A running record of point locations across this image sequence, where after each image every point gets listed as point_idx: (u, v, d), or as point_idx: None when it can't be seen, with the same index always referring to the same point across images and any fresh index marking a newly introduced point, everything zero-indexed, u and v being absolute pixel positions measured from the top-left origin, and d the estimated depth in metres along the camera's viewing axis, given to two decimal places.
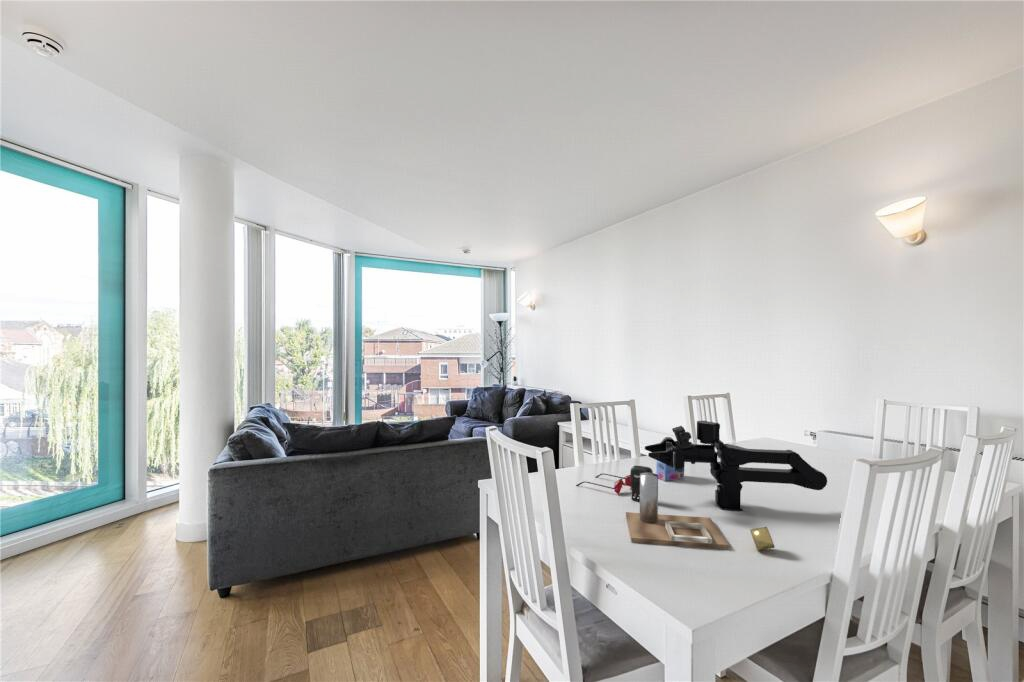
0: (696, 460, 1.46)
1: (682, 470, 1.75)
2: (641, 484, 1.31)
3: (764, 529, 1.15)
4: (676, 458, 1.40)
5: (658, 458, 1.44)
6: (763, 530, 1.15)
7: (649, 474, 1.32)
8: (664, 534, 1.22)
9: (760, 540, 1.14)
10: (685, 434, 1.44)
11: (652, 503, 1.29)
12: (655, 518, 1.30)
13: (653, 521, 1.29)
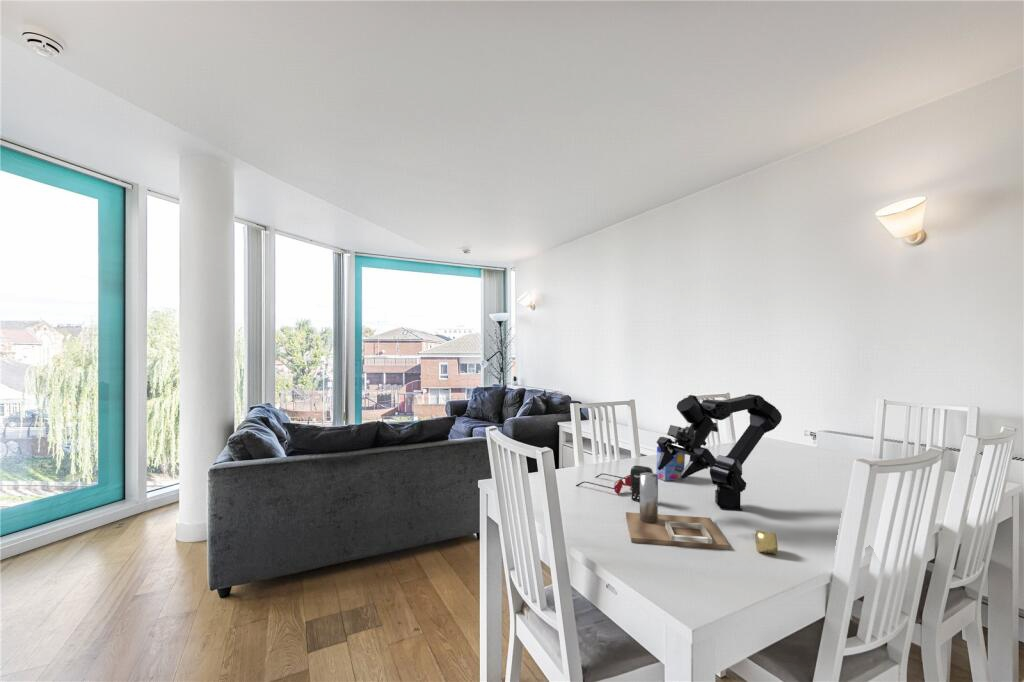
0: (705, 439, 1.38)
1: (682, 470, 1.75)
2: (641, 484, 1.31)
3: (773, 536, 1.14)
4: (708, 460, 1.29)
5: (691, 472, 1.31)
6: (772, 537, 1.13)
7: (649, 474, 1.32)
8: (664, 534, 1.22)
9: (765, 545, 1.13)
10: (689, 432, 1.33)
11: (652, 503, 1.29)
12: (655, 518, 1.30)
13: (653, 521, 1.29)
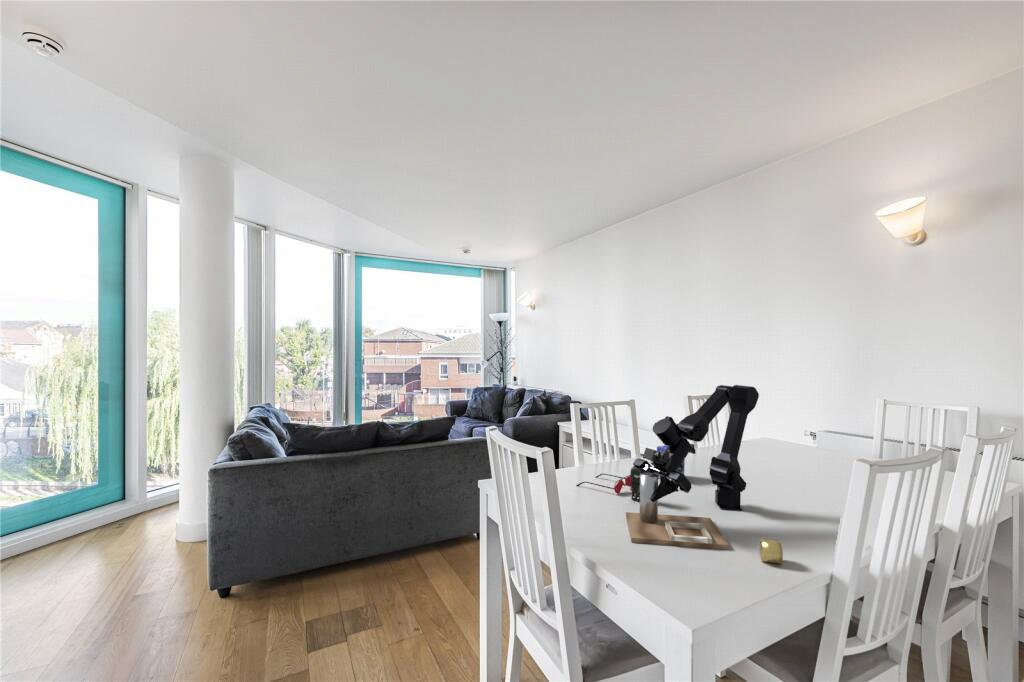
0: None
1: (682, 470, 1.75)
2: (641, 484, 1.31)
3: (778, 563, 1.09)
4: (683, 485, 1.25)
5: (661, 495, 1.29)
6: None
7: (649, 474, 1.32)
8: (664, 534, 1.22)
9: None
10: (664, 455, 1.29)
11: (652, 503, 1.29)
12: (655, 518, 1.30)
13: (653, 521, 1.29)
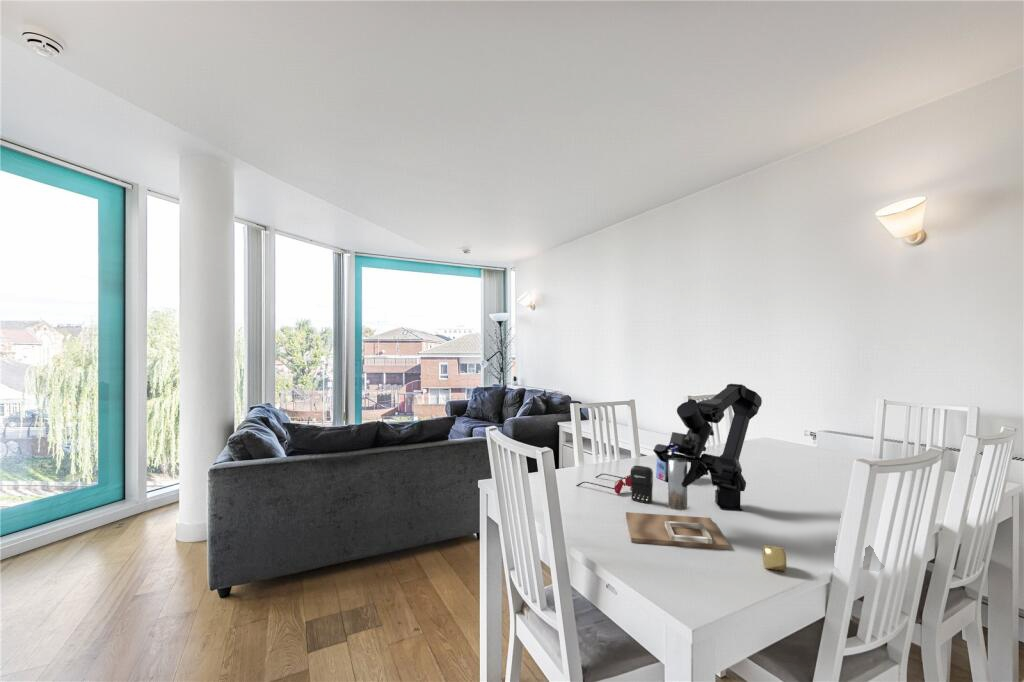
0: (704, 444, 1.32)
1: None
2: (671, 470, 1.27)
3: None
4: (717, 467, 1.23)
5: (692, 480, 1.26)
6: None
7: (678, 459, 1.28)
8: (664, 534, 1.22)
9: None
10: (695, 439, 1.25)
11: (684, 488, 1.25)
12: (686, 503, 1.26)
13: (684, 507, 1.26)
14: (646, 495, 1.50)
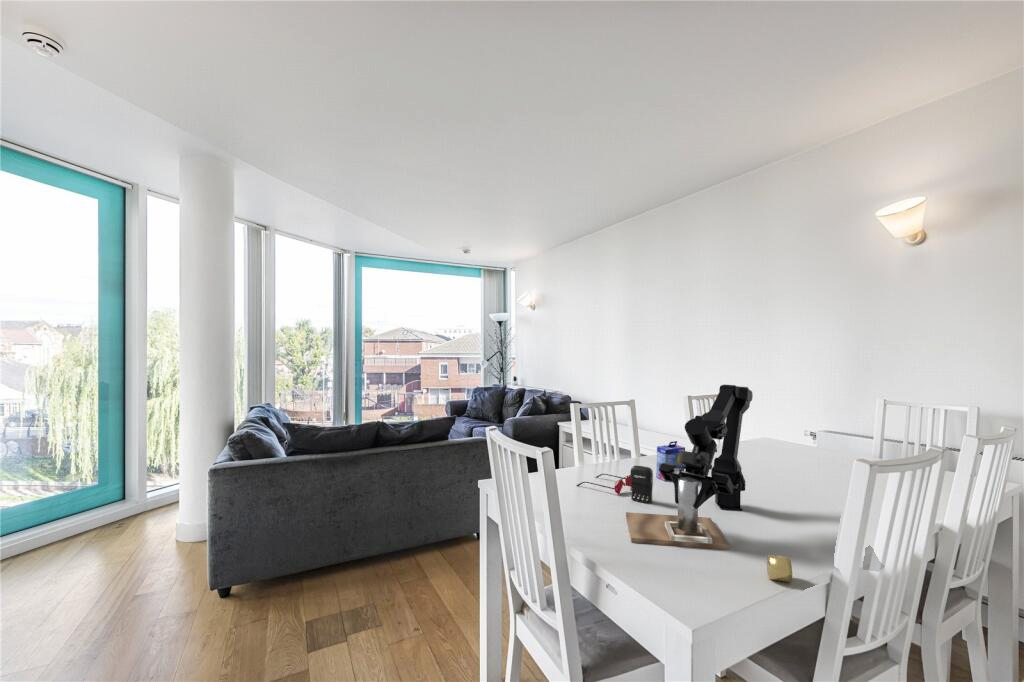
0: None
1: (682, 470, 1.75)
2: (682, 491, 1.21)
3: (785, 557, 1.02)
4: (729, 487, 1.19)
5: (703, 500, 1.21)
6: (784, 557, 1.02)
7: (688, 479, 1.23)
8: (664, 534, 1.22)
9: (778, 564, 1.00)
10: (706, 458, 1.21)
11: (695, 509, 1.20)
12: (697, 525, 1.21)
13: (696, 529, 1.21)
14: (646, 495, 1.50)
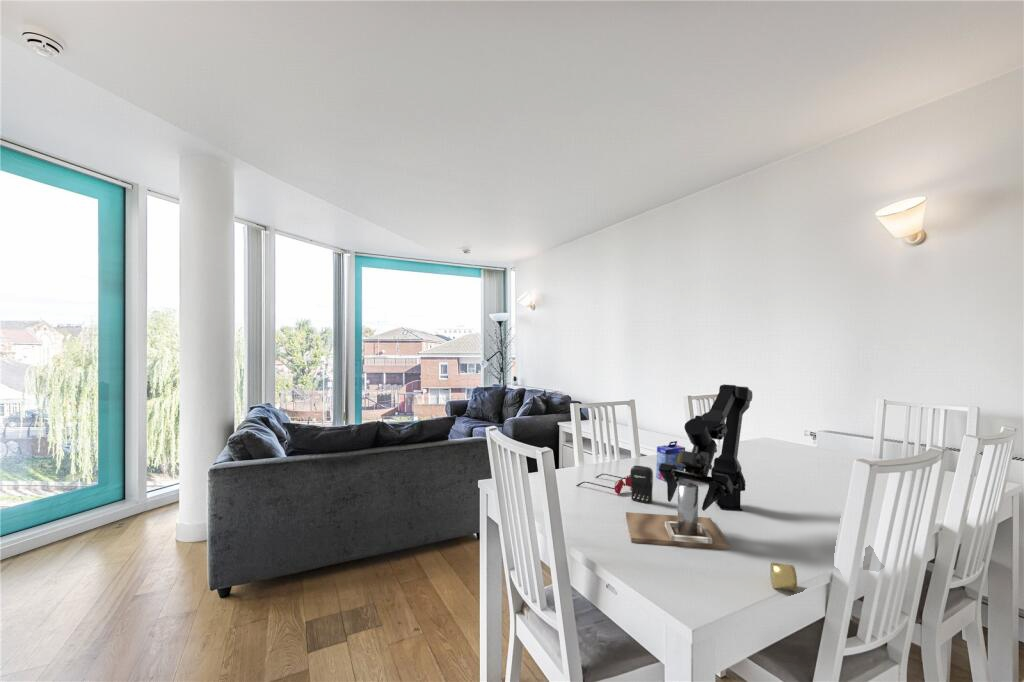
0: None
1: (682, 470, 1.75)
2: (683, 496, 1.21)
3: (793, 581, 0.95)
4: (729, 487, 1.19)
5: (710, 502, 1.19)
6: (791, 583, 0.96)
7: (688, 484, 1.23)
8: (664, 534, 1.22)
9: None
10: (706, 457, 1.21)
11: (695, 515, 1.20)
12: (697, 531, 1.21)
13: (696, 535, 1.21)
14: (646, 495, 1.50)
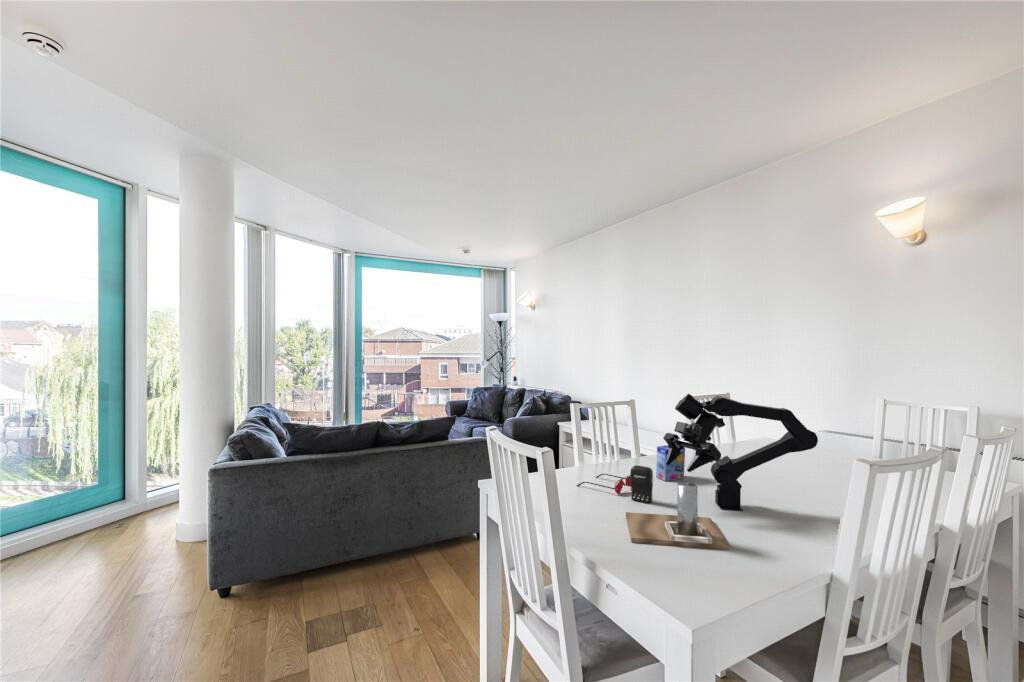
0: None
1: (682, 470, 1.75)
2: (682, 496, 1.21)
3: None
4: (714, 454, 1.36)
5: (697, 466, 1.38)
6: None
7: (687, 484, 1.23)
8: (664, 534, 1.22)
9: None
10: (695, 428, 1.39)
11: (695, 515, 1.20)
12: (697, 531, 1.21)
13: (696, 534, 1.21)
14: (646, 495, 1.50)
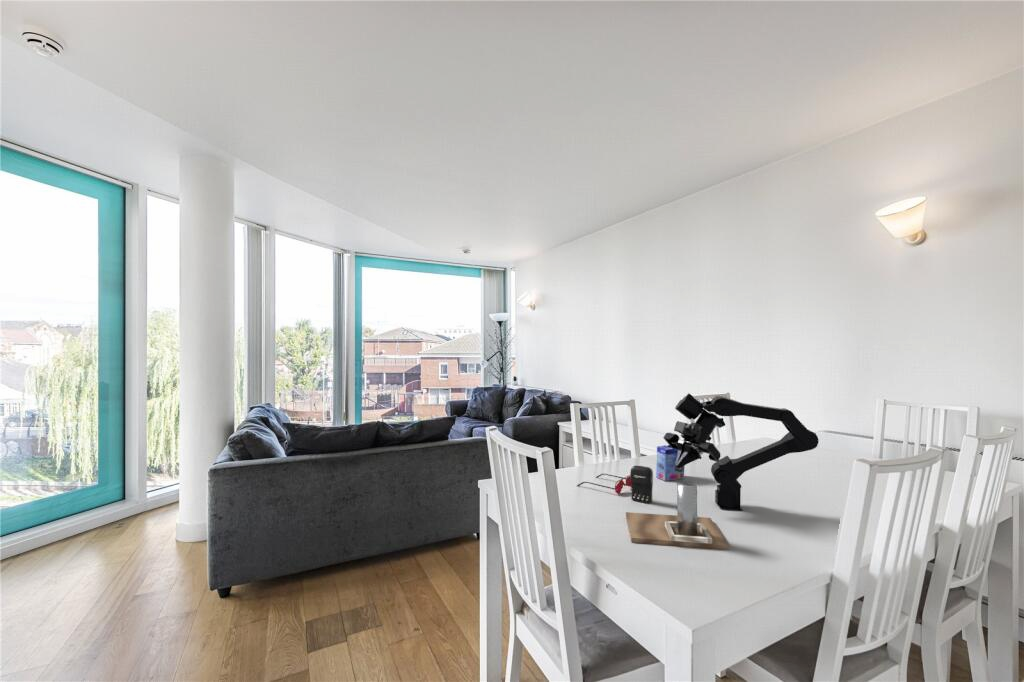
0: None
1: (682, 470, 1.75)
2: (682, 496, 1.21)
3: None
4: (713, 454, 1.36)
5: (685, 462, 1.42)
6: None
7: (687, 484, 1.23)
8: (664, 534, 1.22)
9: None
10: (695, 427, 1.40)
11: (695, 514, 1.21)
12: (697, 530, 1.21)
13: (696, 534, 1.21)
14: (646, 495, 1.50)
